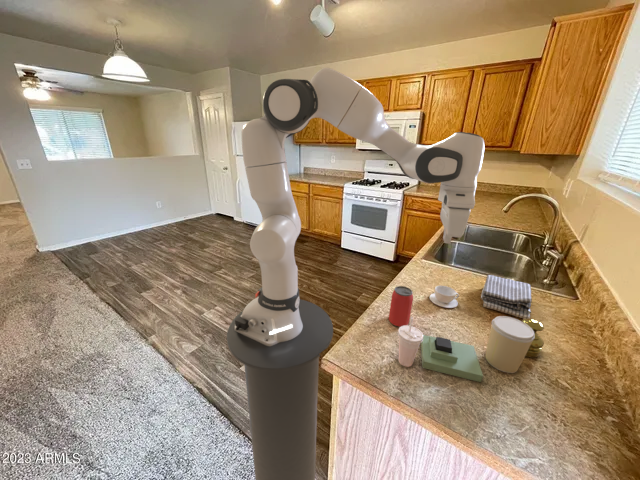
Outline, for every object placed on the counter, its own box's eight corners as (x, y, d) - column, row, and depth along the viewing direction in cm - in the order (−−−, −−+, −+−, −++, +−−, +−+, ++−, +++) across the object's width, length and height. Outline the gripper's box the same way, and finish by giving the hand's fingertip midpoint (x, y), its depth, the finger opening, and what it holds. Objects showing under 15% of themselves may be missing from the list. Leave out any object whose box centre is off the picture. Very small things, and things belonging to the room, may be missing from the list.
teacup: (433, 307, 96) (435, 296, 95) (426, 293, 106) (428, 282, 104) (461, 310, 95) (464, 299, 94) (452, 295, 105) (454, 284, 103)
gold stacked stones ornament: (541, 349, 78) (552, 321, 75) (536, 362, 73) (548, 333, 70) (511, 336, 83) (521, 309, 79) (505, 348, 78) (515, 320, 75)
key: (436, 350, 72) (437, 345, 71) (435, 341, 75) (436, 336, 74) (450, 353, 71) (452, 348, 70) (449, 344, 74) (450, 339, 73)
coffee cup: (511, 352, 77) (524, 318, 72) (528, 378, 68) (544, 341, 64) (477, 346, 78) (487, 312, 74) (489, 372, 70) (501, 335, 65)
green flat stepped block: (422, 367, 70) (424, 356, 69) (420, 340, 80) (422, 329, 79) (481, 382, 67) (485, 370, 65) (471, 351, 76) (475, 340, 75)
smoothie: (409, 351, 76) (417, 310, 71) (422, 368, 70) (431, 325, 65) (389, 354, 75) (395, 312, 70) (400, 372, 69) (408, 328, 64)
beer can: (406, 330, 84) (411, 298, 80) (385, 323, 87) (390, 292, 83) (410, 319, 90) (416, 288, 85) (391, 313, 93) (395, 283, 88)
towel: (526, 298, 104) (532, 280, 101) (529, 322, 90) (536, 302, 87) (482, 286, 112) (487, 269, 109) (478, 306, 98) (483, 288, 95)
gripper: (440, 188, 84) (432, 230, 88) (448, 201, 65) (438, 252, 70) (462, 190, 82) (452, 232, 87) (476, 203, 64) (464, 256, 68)
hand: (446, 241), depth 78 cm, fingers closed
